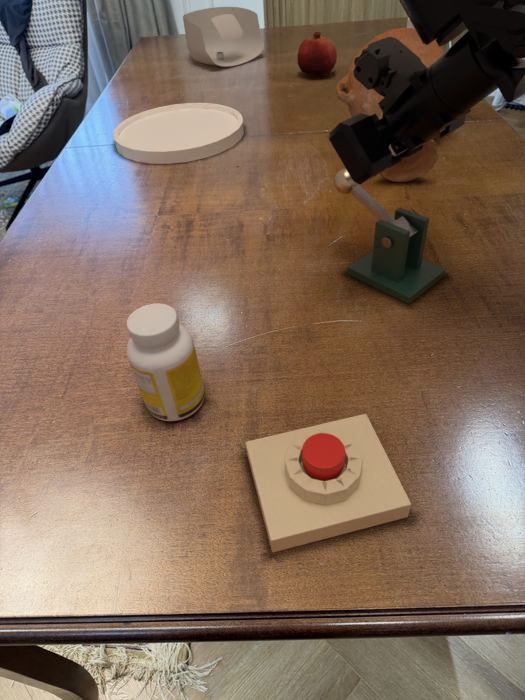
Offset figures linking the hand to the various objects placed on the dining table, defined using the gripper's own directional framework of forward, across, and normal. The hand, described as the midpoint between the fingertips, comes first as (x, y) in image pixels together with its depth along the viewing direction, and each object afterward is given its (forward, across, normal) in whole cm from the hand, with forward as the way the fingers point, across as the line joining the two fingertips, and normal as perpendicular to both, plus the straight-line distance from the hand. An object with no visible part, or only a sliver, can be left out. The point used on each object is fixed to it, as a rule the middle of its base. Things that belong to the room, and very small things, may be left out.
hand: (356, 165), depth 63 cm
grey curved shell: (+79, -57, -59) cm, 113 cm away
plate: (+50, -12, -31) cm, 60 cm away
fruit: (+53, -60, -34) cm, 87 cm away
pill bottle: (+7, +34, +12) cm, 37 cm away
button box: (-6, +31, +25) cm, 40 cm away
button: (-9, +31, +22) cm, 39 cm away
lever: (+3, 0, +6) cm, 6 cm away
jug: (+21, -32, -2) cm, 39 cm away
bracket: (+4, 0, +15) cm, 15 cm away
